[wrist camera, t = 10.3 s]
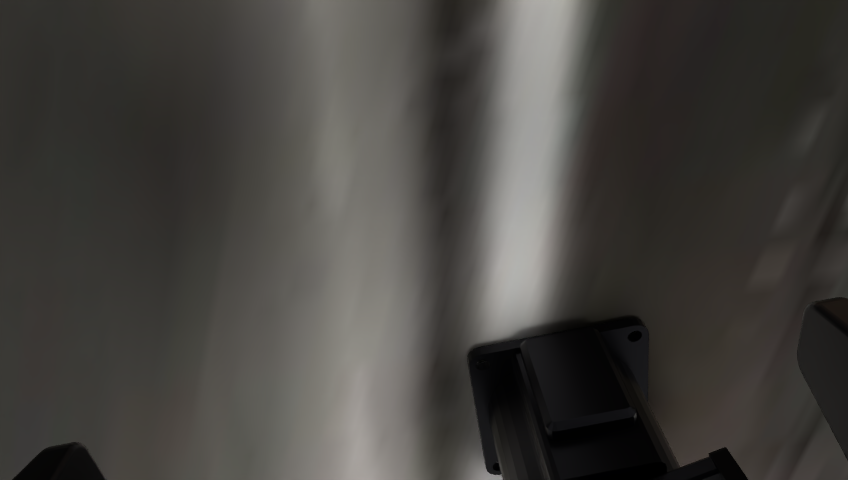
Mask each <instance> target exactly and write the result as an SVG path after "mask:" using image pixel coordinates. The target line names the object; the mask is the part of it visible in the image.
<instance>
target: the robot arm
mask: <svg viewBox="0 0 848 480" xmlns="http://www.w3.org/2000/svg"><path fill="white" fill-rule="evenodd" d="M633 331H636V332H635V333H634V334H631V335H629V334H630V333H631V332H633ZM648 348H649V333H648V329H647V328H646V326H645V324H644V323H643V322H642V321H641V320H640V319H637V318H632V319H626V320H621V321H615V322H610V323H605V324H600V325H594V326H589V327H584V328H578V329H573V330H568V331H563V332H557V333H552V334H547V335H541V336H536V337H531V338H525V339H520V340H515V341H510V342H504V343H499V344H494V345H488V346H483V347H479V348H476V349H474V350H472V351H471V352H470V353H469V355H468V359H467V361H468V367H469V373H470V378H471V384H472V390H473V396H474V402H475V408H476V414H477V419H478V425H479V431H480V437H481V443H482V449H483V455H484V460H485V465H486V469H487V471H488V472H489V473H490V474H494V475H500V474H502V478H503V480H748V479H747V477H746V476H745V474H744V473H743V471H742V470H741V468H740V467H739V465H738V464H737V463H736V461H735V460H734V458H733V457H732V455H731V454H730V452H729V451H728V449H727V448H726V447H724V448H722V449H719V450H716V451H714V452H711V453H708V454H709V457H707V458H704V459H701V460H699V461H696V462H693V463H691V464H688V465H685V466H683V467H680V466H679V464H678V462H677V460H676V458H675V456H674V454H673V452H672V450H671V448H670V446H669V444H668V442H667V440H666V438H665V436H664V434H663V432H662V430H661V428H660V426H659V424H658V422H657V420H656V418H655V416H654V414H653V412H652V410H651V408H650V406H649V404H648ZM797 358H798V364H799V367H800V370H801V372H802V374H803V376H804V378H805V380H806V382H807V384H808V386H809V387H810V389H811V391H812V393H813V395H814V397H815V399H816V401H817V403H818V405H819V407H820V408H821V410H822V412H823V414H824V416H825V418H826V420H827V422H828V424H829V426H830V428H831V429H832V431H833V433H834V435H835V437H836V439H837V441H838V443H839V445H840V447H841V449H842V450H843V452H844V454H845V456H846V458H847V460H848V299H847V298H842V297H837V298H831V299H826V300H821V301H815V302H812V303H810V304H808V305H807V307H806V308H805V310H804V314H803V320H802V326H801V332H800V338H799V344H798V350H797ZM480 360H486V361H485V362H483V363H478V361H480ZM497 462H498V463H497ZM12 480H106V478H105V477H104V475H103V473H102V472H101V470H100V468H99V467H98V465H97V464H96V462H95V460H94V459H93V457H92V456H91V454H90V452H89V451H88V449H87V448H86V447H85V446H84V445H83V444H81V443H79V442H72V443H67V444H62V445H56V446H51V447H48V448H46V449H44V450H43V451H41V452H40V453H39V454H38V455H37V456H36V457H35V458H34V459H33V460H32V461H31V462H30V463H29V464H28V465H27V466H26V467H25V468H24V469H23V470H22V471H21V472H20V473H19V474H18V475H17V476H15V477H14V478H13V479H12Z"/></svg>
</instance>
